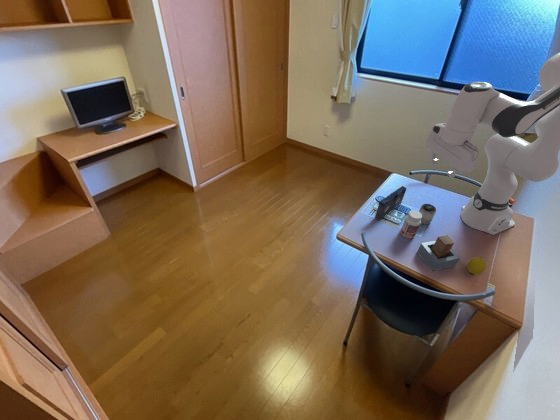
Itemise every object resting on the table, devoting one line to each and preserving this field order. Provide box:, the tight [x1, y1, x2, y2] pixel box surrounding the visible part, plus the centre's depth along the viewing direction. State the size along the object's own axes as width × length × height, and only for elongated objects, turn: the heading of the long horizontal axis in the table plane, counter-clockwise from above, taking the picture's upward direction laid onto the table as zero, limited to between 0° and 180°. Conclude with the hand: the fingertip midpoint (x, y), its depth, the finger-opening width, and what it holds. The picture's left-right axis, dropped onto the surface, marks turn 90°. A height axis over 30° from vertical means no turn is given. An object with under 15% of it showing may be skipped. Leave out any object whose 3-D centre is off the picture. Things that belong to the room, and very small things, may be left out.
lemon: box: [466, 256, 487, 275], centre depth 105 cm, size 6×6×8 cm
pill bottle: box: [400, 209, 422, 239], centre depth 119 cm, size 6×6×11 cm
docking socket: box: [416, 239, 461, 272], centre depth 111 cm, size 10×10×5 cm
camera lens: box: [419, 203, 437, 225], centre depth 127 cm, size 6×6×8 cm
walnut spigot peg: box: [431, 234, 455, 259], centre depth 108 cm, size 4×4×10 cm
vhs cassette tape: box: [374, 185, 407, 221], centre depth 131 cm, size 18×3×10 cm, turn 129°
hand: (441, 169), depth 104 cm, fingers open, 8 cm apart
